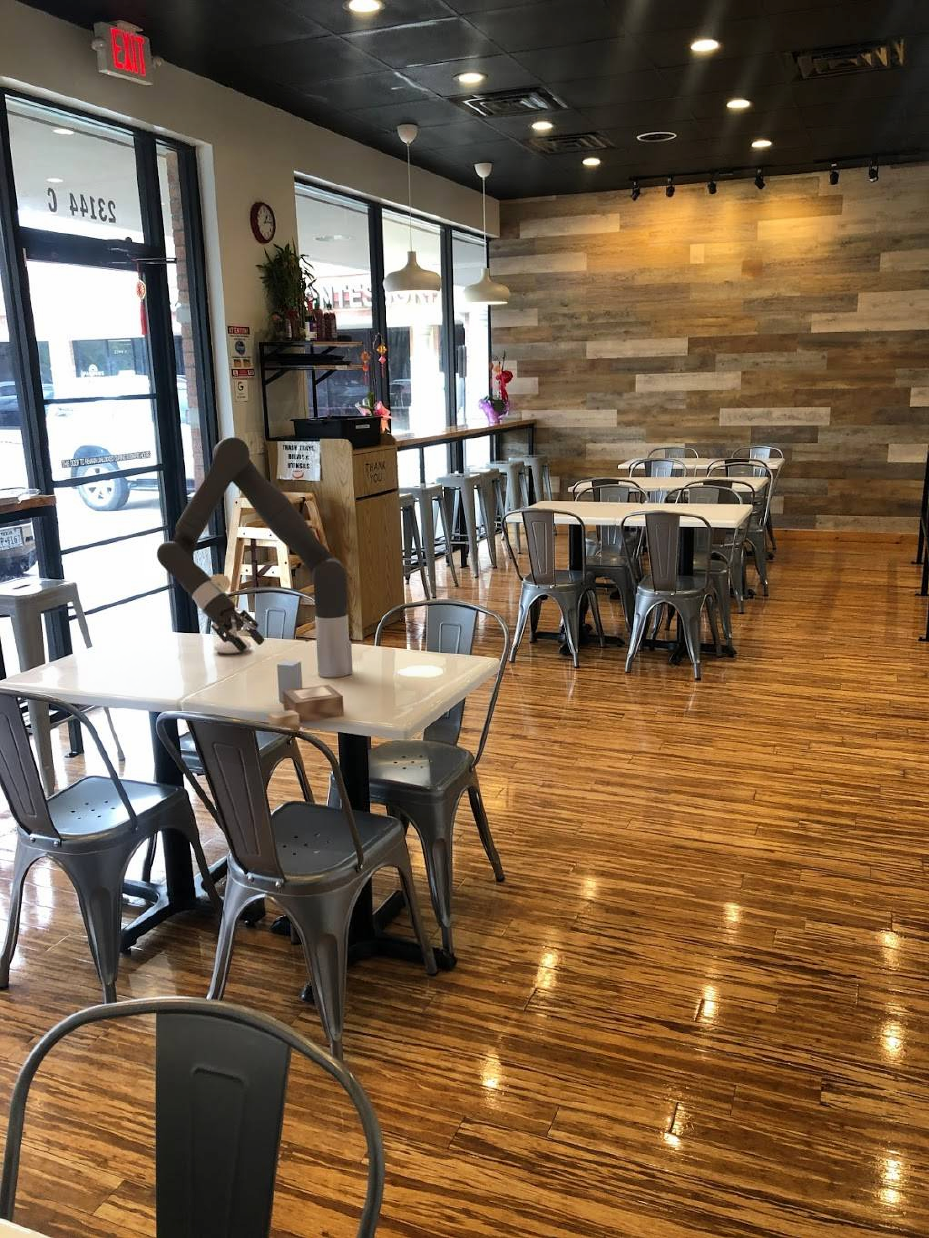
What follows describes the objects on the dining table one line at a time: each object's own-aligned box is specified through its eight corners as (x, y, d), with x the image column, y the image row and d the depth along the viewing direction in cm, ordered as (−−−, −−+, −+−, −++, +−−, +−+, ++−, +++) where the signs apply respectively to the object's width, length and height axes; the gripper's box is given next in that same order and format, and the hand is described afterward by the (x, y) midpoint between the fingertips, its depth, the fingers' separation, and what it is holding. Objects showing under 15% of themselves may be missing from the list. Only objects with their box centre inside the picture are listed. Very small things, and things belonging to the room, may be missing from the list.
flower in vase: (253, 647, 335) (248, 569, 330) (248, 655, 324) (243, 575, 319) (212, 648, 335) (206, 571, 329) (205, 657, 323) (199, 577, 318)
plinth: (329, 703, 271) (328, 683, 270) (343, 715, 260) (342, 695, 259) (284, 709, 266) (282, 690, 265) (296, 722, 256) (295, 702, 255)
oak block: (293, 725, 254) (292, 709, 253) (299, 730, 250) (298, 713, 250) (269, 730, 251) (268, 714, 250) (276, 734, 247) (275, 718, 246)
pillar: (288, 696, 278) (285, 660, 276) (303, 698, 276) (300, 661, 274) (279, 701, 274) (277, 664, 272) (294, 703, 272) (292, 665, 270)
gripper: (205, 597, 270) (246, 643, 268) (236, 587, 283) (275, 631, 281) (189, 616, 273) (230, 661, 271) (220, 605, 286) (259, 649, 284)
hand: (253, 646), depth 276 cm, fingers open, 8 cm apart
